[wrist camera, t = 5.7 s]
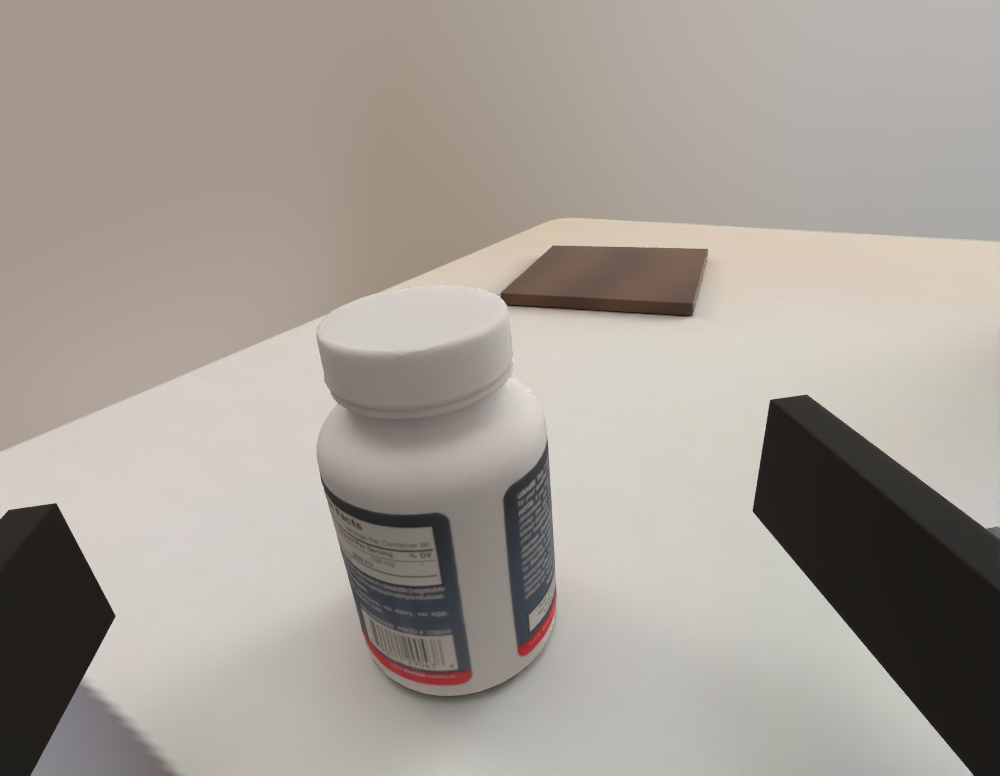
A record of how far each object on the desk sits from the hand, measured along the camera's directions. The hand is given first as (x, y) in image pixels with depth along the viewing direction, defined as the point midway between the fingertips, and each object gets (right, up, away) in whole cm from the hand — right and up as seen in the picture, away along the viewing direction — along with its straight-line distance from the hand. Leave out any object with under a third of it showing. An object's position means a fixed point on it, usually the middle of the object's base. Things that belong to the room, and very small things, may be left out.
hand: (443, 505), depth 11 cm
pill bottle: (0, -4, +5) cm, 7 cm away
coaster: (+9, +10, +30) cm, 33 cm away
